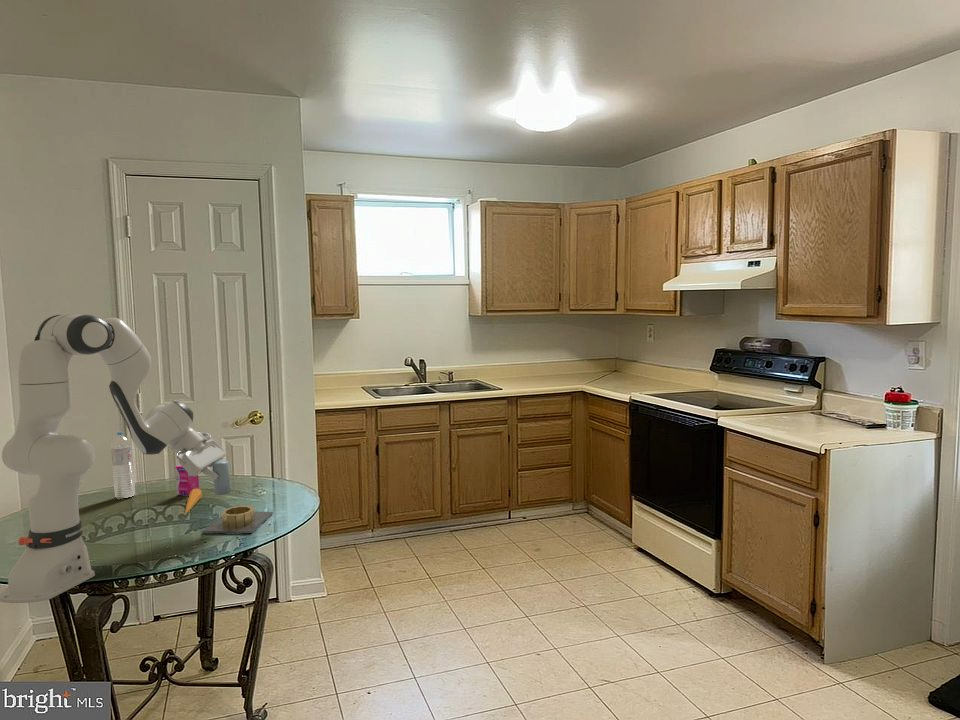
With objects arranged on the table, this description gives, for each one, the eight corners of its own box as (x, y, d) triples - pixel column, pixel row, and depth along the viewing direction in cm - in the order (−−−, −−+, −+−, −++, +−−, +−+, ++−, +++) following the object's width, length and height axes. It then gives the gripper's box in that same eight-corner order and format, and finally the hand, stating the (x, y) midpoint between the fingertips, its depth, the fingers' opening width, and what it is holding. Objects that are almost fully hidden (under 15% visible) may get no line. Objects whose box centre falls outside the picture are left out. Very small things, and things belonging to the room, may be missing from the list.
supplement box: (176, 496, 248) (174, 466, 246) (187, 491, 253) (185, 462, 252) (189, 497, 246) (186, 467, 245) (200, 492, 252) (198, 463, 250)
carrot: (194, 500, 245) (188, 490, 244) (205, 494, 246) (199, 484, 244) (181, 523, 226) (175, 512, 225) (194, 517, 226) (187, 506, 225)
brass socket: (247, 526, 209) (246, 515, 209) (217, 526, 210) (216, 515, 210) (259, 515, 219) (258, 505, 219) (230, 516, 220) (230, 505, 219)
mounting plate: (251, 533, 205) (251, 530, 205) (202, 534, 206) (201, 531, 206) (273, 514, 223) (272, 511, 223) (227, 514, 224) (227, 512, 224)
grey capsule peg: (227, 494, 210) (224, 464, 209) (211, 495, 211) (209, 464, 210) (233, 490, 215) (231, 460, 214) (218, 490, 216) (216, 460, 215)
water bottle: (126, 500, 244) (121, 434, 241) (110, 499, 245) (105, 434, 243) (139, 494, 251) (134, 430, 248) (124, 494, 252) (118, 430, 249)
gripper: (180, 446, 201) (213, 477, 202) (210, 432, 222) (241, 459, 222) (167, 461, 202) (200, 491, 202) (198, 445, 222) (229, 472, 223)
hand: (222, 474), depth 212 cm, fingers closed on grey capsule peg, 5 cm apart
